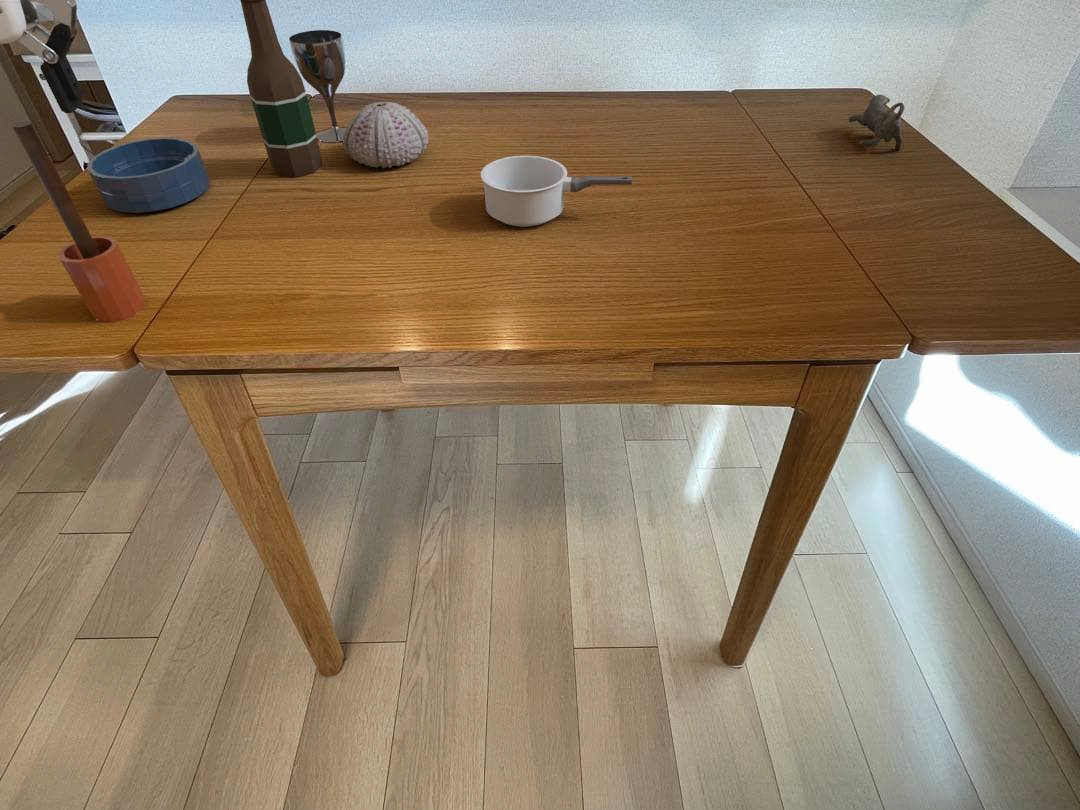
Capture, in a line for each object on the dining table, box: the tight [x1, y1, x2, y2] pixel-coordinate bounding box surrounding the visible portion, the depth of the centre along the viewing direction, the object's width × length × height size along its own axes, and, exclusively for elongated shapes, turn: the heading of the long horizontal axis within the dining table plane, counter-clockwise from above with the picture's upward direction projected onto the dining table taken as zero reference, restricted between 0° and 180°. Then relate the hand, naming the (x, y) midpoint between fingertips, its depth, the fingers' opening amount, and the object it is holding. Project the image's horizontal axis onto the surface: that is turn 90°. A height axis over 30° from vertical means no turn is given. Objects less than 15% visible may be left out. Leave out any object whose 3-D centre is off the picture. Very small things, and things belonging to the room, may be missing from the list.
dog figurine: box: [847, 94, 905, 151], centre depth 105 cm, size 12×6×7 cm, turn 179°
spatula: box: [10, 120, 100, 259], centre depth 66 cm, size 3×2×20 cm, turn 99°
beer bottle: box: [239, 0, 323, 178], centre depth 93 cm, size 8×8×24 cm
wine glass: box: [288, 29, 347, 143], centre depth 106 cm, size 8×8×15 cm
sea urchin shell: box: [341, 101, 430, 169], centre depth 102 cm, size 13×14×8 cm
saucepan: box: [480, 155, 633, 228], centre depth 88 cm, size 12×20×6 cm, turn 82°
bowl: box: [87, 137, 211, 214], centre depth 93 cm, size 14×14×6 cm
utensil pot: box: [58, 235, 147, 323], centre depth 71 cm, size 5×6×8 cm
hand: (16, 112), depth 58 cm, fingers open, 9 cm apart
